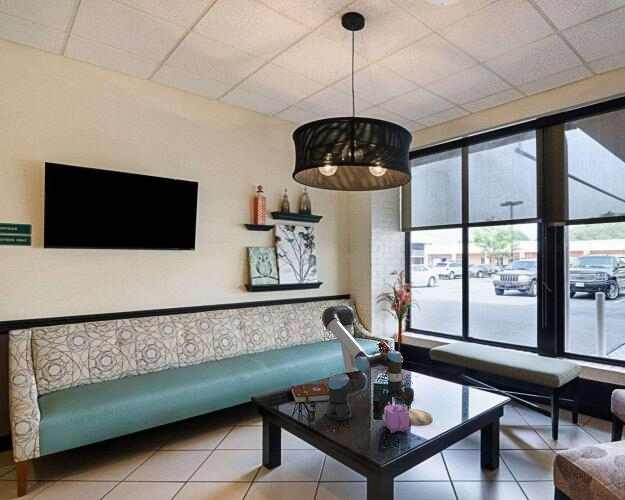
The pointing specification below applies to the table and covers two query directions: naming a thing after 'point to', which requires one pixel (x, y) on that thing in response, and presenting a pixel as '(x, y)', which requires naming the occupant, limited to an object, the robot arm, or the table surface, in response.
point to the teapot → (396, 418)
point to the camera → (409, 391)
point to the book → (310, 392)
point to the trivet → (419, 417)
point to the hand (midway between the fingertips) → (395, 418)
